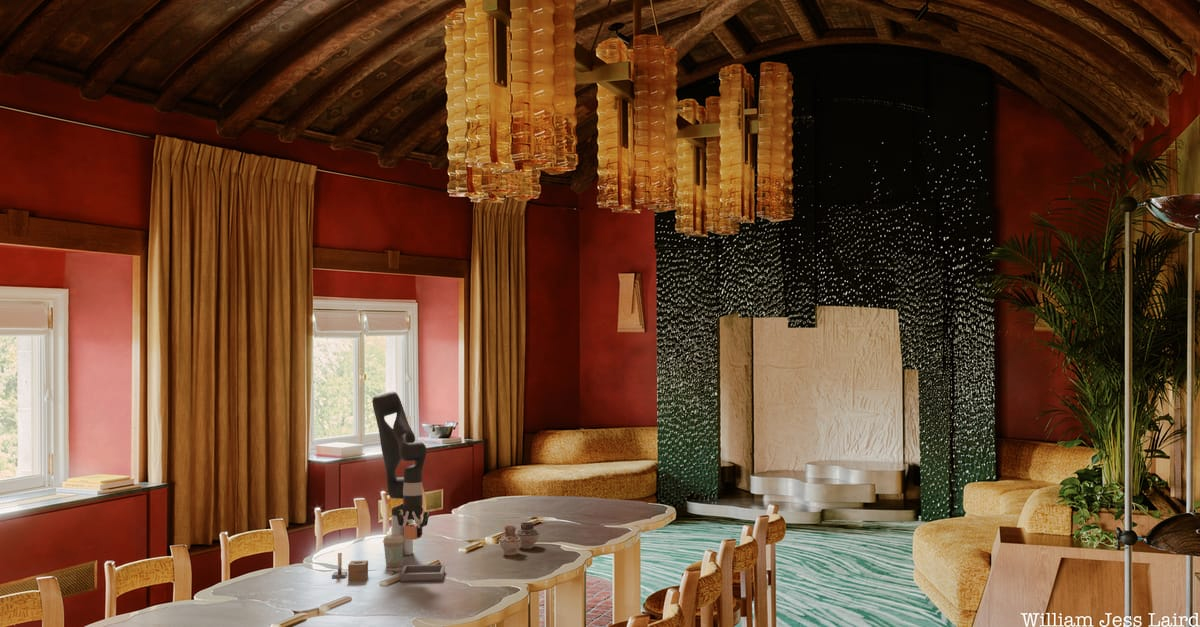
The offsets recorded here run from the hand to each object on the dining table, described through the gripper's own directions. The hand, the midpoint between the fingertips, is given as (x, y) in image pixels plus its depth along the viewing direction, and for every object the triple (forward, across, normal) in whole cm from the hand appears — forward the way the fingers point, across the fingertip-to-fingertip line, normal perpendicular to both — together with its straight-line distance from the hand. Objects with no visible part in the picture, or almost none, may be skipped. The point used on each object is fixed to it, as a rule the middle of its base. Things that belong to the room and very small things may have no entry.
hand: (412, 536), depth 361 cm
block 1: (+16, -20, -8) cm, 26 cm away
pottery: (+16, +23, +55) cm, 61 cm away
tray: (+16, +4, +2) cm, 16 cm away
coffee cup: (+16, -17, +15) cm, 28 cm away
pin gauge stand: (+16, -29, -6) cm, 34 cm away
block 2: (0, 0, 0) cm, 0 cm away
